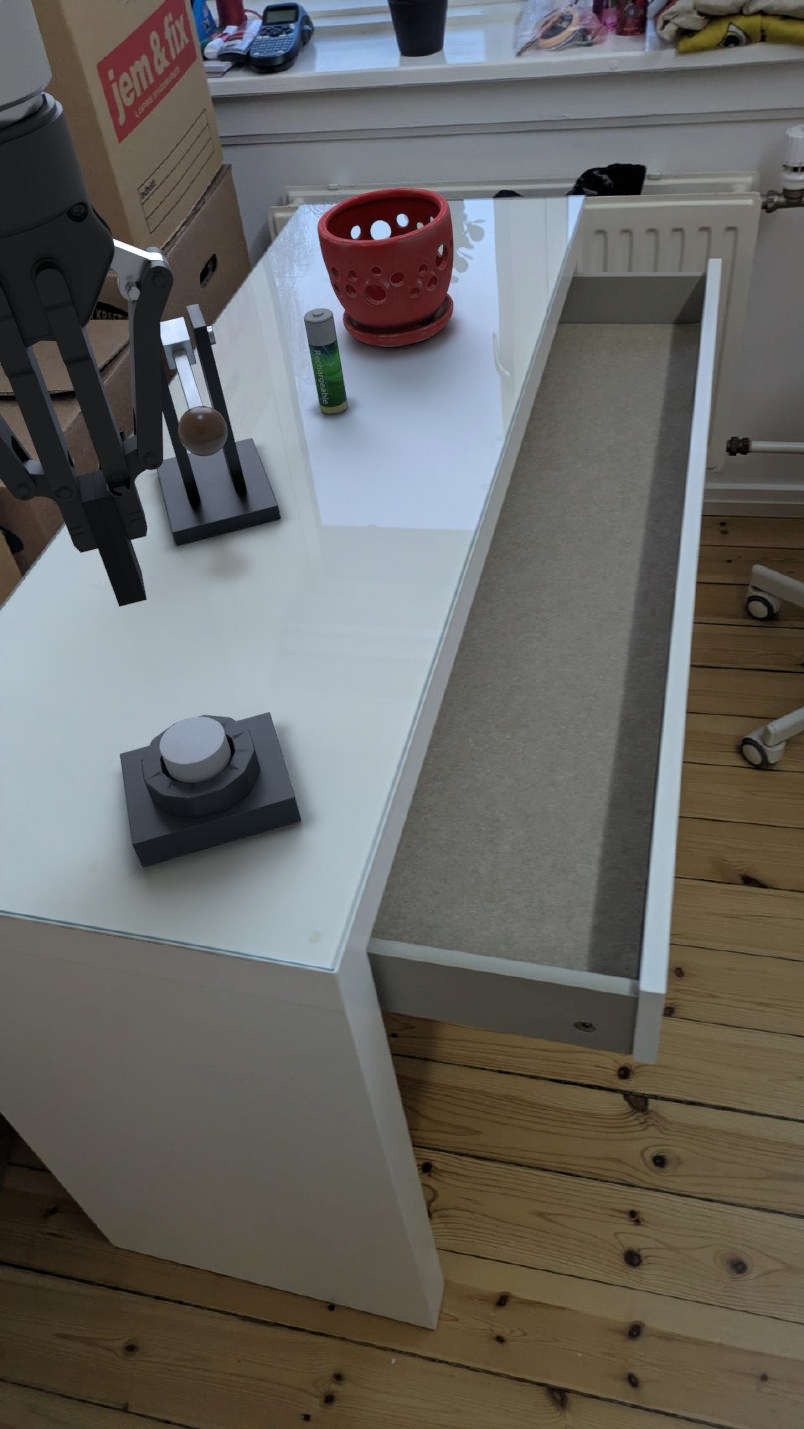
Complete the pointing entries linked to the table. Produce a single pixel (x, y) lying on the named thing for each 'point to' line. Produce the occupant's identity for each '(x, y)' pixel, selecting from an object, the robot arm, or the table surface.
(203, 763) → the flush button
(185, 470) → the lever bracket
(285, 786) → the button housing
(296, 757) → the table surface
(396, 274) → the flower pot
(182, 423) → the flush lever
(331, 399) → the battery
